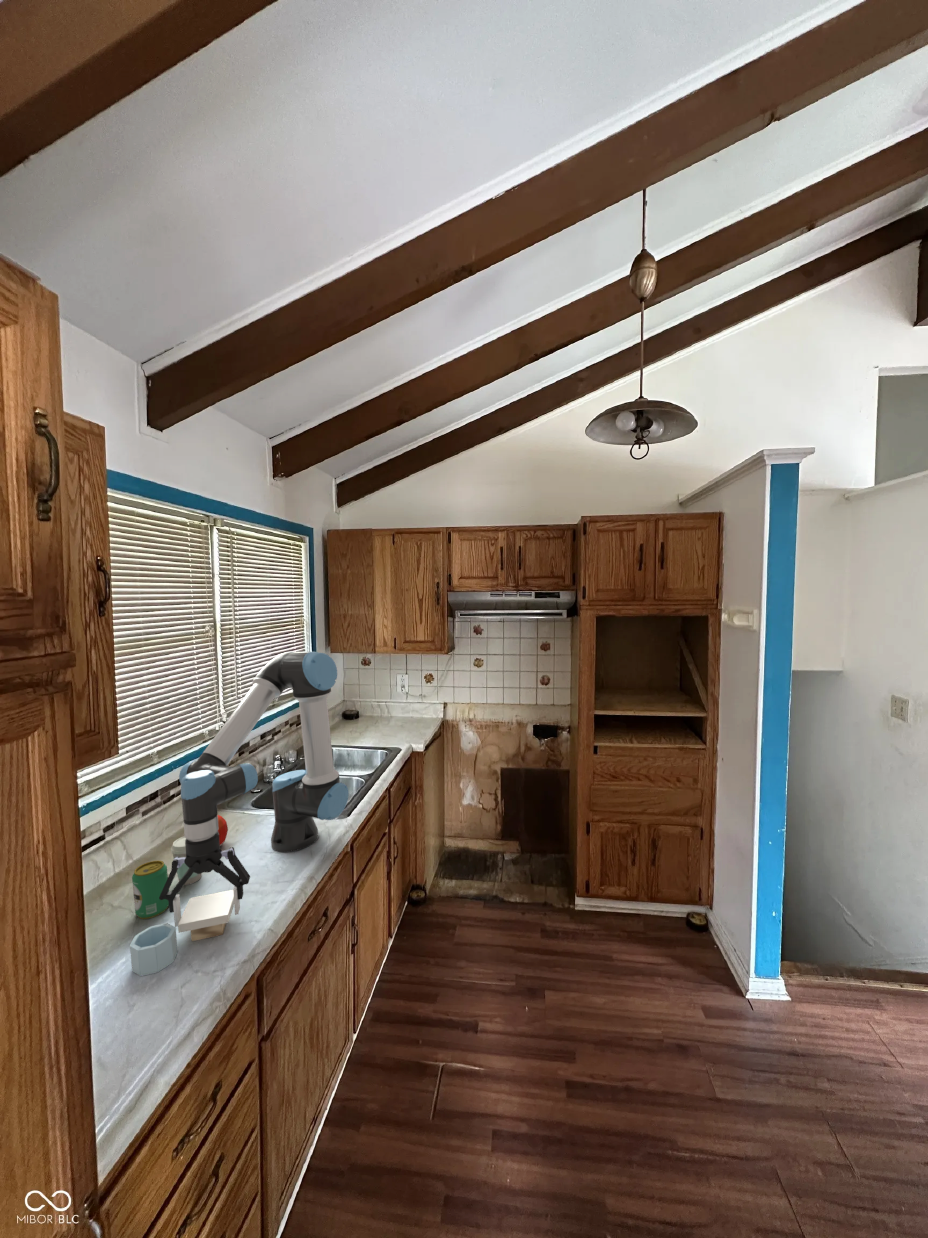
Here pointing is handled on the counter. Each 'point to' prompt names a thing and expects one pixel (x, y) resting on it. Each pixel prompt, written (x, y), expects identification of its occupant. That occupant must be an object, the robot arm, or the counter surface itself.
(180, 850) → the coffee cup
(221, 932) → the cork block
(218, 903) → the ceramic tile
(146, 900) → the beverage can
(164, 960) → the bowl
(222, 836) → the apple
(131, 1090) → the counter surface
